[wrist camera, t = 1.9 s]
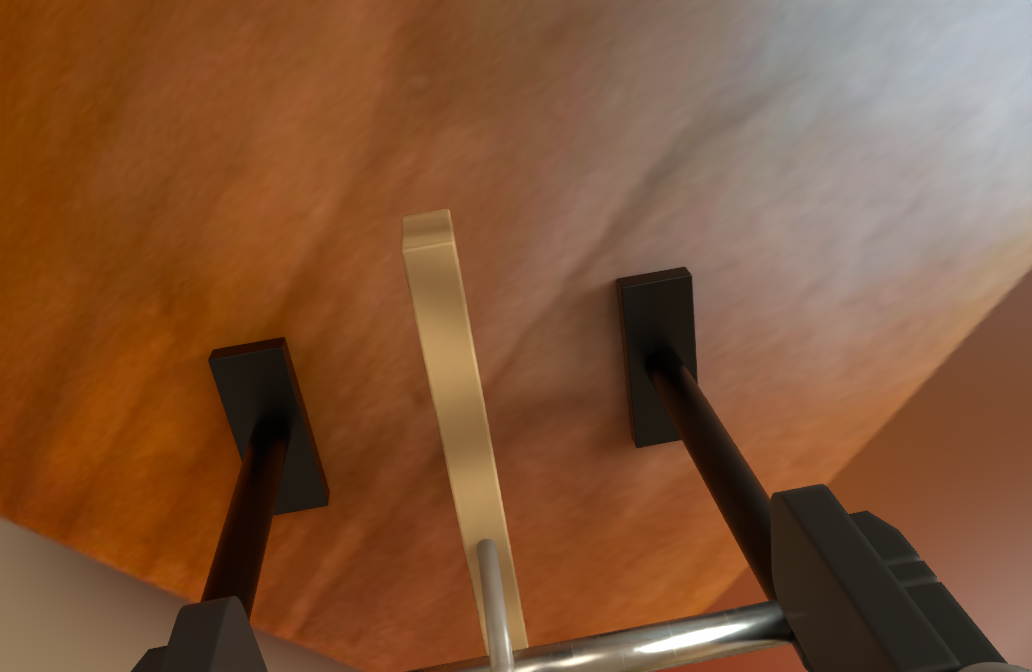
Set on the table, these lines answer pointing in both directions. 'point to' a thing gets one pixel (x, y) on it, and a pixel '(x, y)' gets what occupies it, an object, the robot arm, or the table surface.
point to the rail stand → (653, 420)
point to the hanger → (464, 428)
